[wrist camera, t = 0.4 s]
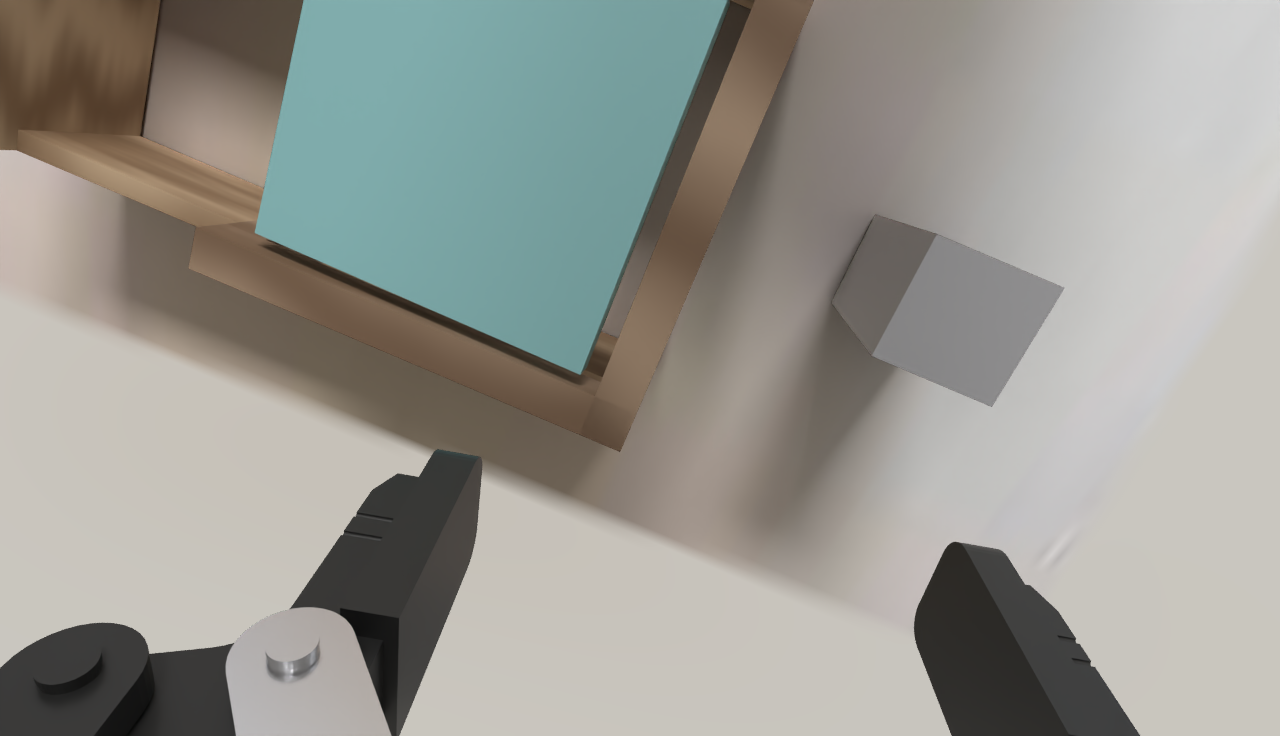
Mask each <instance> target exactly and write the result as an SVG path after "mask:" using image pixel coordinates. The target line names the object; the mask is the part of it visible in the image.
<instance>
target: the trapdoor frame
mask: <svg viewBox="0 0 1280 736" xmlns="http://www.w3.org/2000/svg"><path fill="white" fill-rule="evenodd" d="M730 1H733V2H735V3H737V4H740V5H742V6H745V7H747V8H749V9H751V11H750V14H749V16H748V19H747V21H746V24H745V26H744V29H743V31H742V34H741V36H740V39H739V41H738V43H737V46H736V48H735V51H734V53H733V56H732V58H731V61H730V63H729V66H728V68H727V71H726V73H725V76H724V78H723V81H722V83H721V86H720V88H719V91H718V93H717V95H716V98H715V100H714V103H713V105H712V108H711V110H710V113H709V115H708V118H707V120H706V123H705V125H704V128H703V130H702V133H701V135H700V138H699V140H698V142H697V145H696V147H695V150H694V152H693V155H692V157H691V160H690V162H689V165H688V167H687V170H686V172H685V175H684V177H683V180H682V182H681V185H680V187H679V189H678V192H677V194H676V197H675V199H674V202H673V204H672V207H671V209H670V212H669V214H668V217H667V219H666V222H665V224H664V227H663V229H662V232H661V234H660V236H659V239H658V241H657V244H656V246H655V249H654V251H653V254H652V256H651V259H650V261H649V264H648V266H647V269H646V271H645V274H644V276H643V279H642V281H641V283H640V286H639V288H638V291H637V293H636V296H635V298H634V301H633V303H632V306H631V308H630V311H629V313H628V316H627V318H626V321H625V323H624V326H623V328H622V331H621V333H620V335H619V338H615V337H613V336H611V335H608V334H606V333H604V332H601V333H600V335H599V338H598V340H597V343H596V346H595V348H594V351H593V353H592V356H591V358H590V361H589V363H588V366H587V368H586V369H585V370H584V371H583V372H582V373H581V375H579V374H577V373H575V372H572V371H570V370H568V369H566V368H563V367H561V366H559V365H556V364H554V363H552V362H550V361H547V360H545V359H543V358H540V357H538V356H536V355H533V354H531V353H529V352H527V351H524V350H522V349H520V348H517V347H515V346H513V345H511V344H508V343H506V342H504V341H501V340H499V339H497V338H495V337H492V336H490V335H488V334H485V333H483V332H481V331H478V330H476V329H474V328H472V327H469V326H467V325H465V324H462V323H460V322H458V321H456V320H453V319H451V318H449V317H446V316H444V315H442V314H439V313H437V312H435V311H433V310H430V309H428V308H426V307H423V306H421V305H419V304H417V303H414V302H412V301H410V300H407V299H405V298H403V297H400V296H398V295H396V294H394V293H391V292H389V291H387V290H384V289H382V288H380V287H378V286H375V285H373V284H371V283H368V282H366V281H364V280H361V279H359V278H357V277H355V276H352V275H350V274H348V273H345V272H343V271H341V270H339V269H336V268H334V267H332V266H329V265H327V264H325V263H323V262H320V261H318V260H316V259H313V258H311V257H309V256H306V255H304V254H302V253H300V252H297V251H295V250H293V249H290V248H288V247H286V246H284V245H281V244H279V243H277V242H274V241H272V240H270V239H267V238H265V237H263V236H261V235H258V234H256V233H255V229H256V224H257V219H258V215H259V210H260V205H261V200H262V196H263V191H264V188H261V187H259V186H257V185H254V184H252V183H250V182H247V181H245V180H242V179H240V178H238V177H235V176H233V175H231V174H228V173H226V172H224V171H221V170H219V169H216V168H214V167H212V166H209V165H207V164H205V163H202V162H200V161H198V160H195V159H193V158H191V157H188V156H186V155H183V154H181V153H179V152H176V151H174V150H172V149H169V148H167V147H165V146H162V145H160V144H157V143H155V142H153V141H150V140H148V139H146V138H143V137H141V136H140V134H141V127H142V120H143V114H144V107H145V100H146V93H147V87H148V80H149V73H150V67H151V60H152V53H153V47H154V40H155V33H156V26H157V20H158V13H159V6H160V0H0V150H17V151H20V152H22V153H24V154H27V155H29V156H31V157H34V158H36V159H38V160H41V161H43V162H46V163H48V164H50V165H53V166H55V167H57V168H60V169H62V170H64V171H67V172H69V173H71V174H74V175H76V176H79V177H81V178H83V179H86V180H88V181H90V182H93V183H95V184H97V185H100V186H102V187H104V188H107V189H109V190H112V191H114V192H116V193H119V194H121V195H123V196H126V197H128V198H130V199H133V200H135V201H137V202H140V203H142V204H144V205H147V206H149V207H152V208H154V209H156V210H159V211H161V212H163V213H166V214H168V215H170V216H173V217H175V218H177V219H180V220H182V221H185V222H187V223H189V224H192V225H194V226H196V229H195V235H194V240H193V246H192V251H191V256H190V262H189V267H188V268H189V269H191V270H193V271H196V272H198V273H200V274H203V275H205V276H207V277H210V278H212V279H214V280H217V281H219V282H222V283H224V284H226V285H229V286H231V287H233V288H236V289H238V290H240V291H243V292H245V293H247V294H250V295H252V296H254V297H257V298H259V299H262V300H264V301H266V302H269V303H271V304H273V305H276V306H278V307H280V308H283V309H285V310H287V311H290V312H292V313H294V314H297V315H299V316H302V317H304V318H306V319H309V320H311V321H313V322H316V323H318V324H320V325H323V326H325V327H327V328H330V329H332V330H334V331H337V332H339V333H342V334H344V335H346V336H349V337H351V338H353V339H356V340H358V341H360V342H363V343H365V344H367V345H370V346H372V347H374V348H377V349H379V350H382V351H384V352H386V353H389V354H391V355H393V356H396V357H398V358H400V359H403V360H405V361H407V362H410V363H412V364H414V365H417V366H419V367H422V368H424V369H426V370H429V371H431V372H433V373H436V374H438V375H440V376H443V377H445V378H447V379H450V380H452V381H454V382H457V383H459V384H462V385H464V386H466V387H469V388H471V389H473V390H476V391H478V392H480V393H483V394H485V395H487V396H490V397H492V398H494V399H497V400H499V401H502V402H504V403H506V404H509V405H511V406H513V407H516V408H518V409H520V410H523V411H525V412H527V413H530V414H532V415H534V416H537V417H539V418H542V419H544V420H546V421H549V422H551V423H553V424H556V425H558V426H560V427H563V428H565V429H567V430H570V431H572V432H574V433H577V434H579V435H582V436H584V437H586V438H589V439H591V440H593V441H596V442H598V443H600V444H603V445H605V446H607V447H610V448H612V449H614V450H617V451H619V452H620V451H621V449H622V446H623V444H624V442H625V439H626V437H627V435H628V432H629V430H630V428H631V425H632V423H633V421H634V418H635V416H636V414H637V411H638V409H639V407H640V404H641V402H642V400H643V397H644V395H645V393H646V390H647V388H648V386H649V383H650V381H651V379H652V376H653V374H654V372H655V369H656V367H657V365H658V362H659V360H660V358H661V355H662V353H663V351H664V348H665V346H666V344H667V341H668V339H669V337H670V335H671V332H672V330H673V328H674V325H675V323H676V321H677V318H678V316H679V314H680V311H681V309H682V307H683V304H684V302H685V300H686V297H687V295H688V293H689V290H690V288H691V286H692V283H693V281H694V279H695V276H696V274H697V272H698V269H699V267H700V265H701V262H702V260H703V258H704V255H705V253H706V251H707V248H708V246H709V244H710V241H711V239H712V237H713V234H714V232H715V230H716V227H717V225H718V223H719V220H720V218H721V216H722V213H723V211H724V209H725V206H726V204H727V202H728V199H729V197H730V195H731V192H732V190H733V188H734V185H735V183H736V181H737V178H738V176H739V174H740V172H741V169H742V167H743V165H744V162H745V160H746V158H747V155H748V153H749V151H750V148H751V146H752V144H753V141H754V139H755V137H756V134H757V132H758V130H759V127H760V125H761V123H762V120H763V118H764V116H765V113H766V111H767V109H768V106H769V104H770V102H771V99H772V97H773V95H774V92H775V90H776V88H777V85H778V83H779V81H780V78H781V76H782V74H783V71H784V69H785V67H786V64H787V62H788V60H789V57H790V55H791V53H792V50H793V48H794V46H795V43H796V41H797V39H798V36H799V34H800V32H801V29H802V27H803V25H804V22H805V20H806V18H807V16H808V13H809V11H810V9H811V6H812V4H813V2H814V0H730Z"/></svg>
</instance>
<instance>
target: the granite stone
mask: <svg viewBox="0 0 1280 736" xmlns="http://www.w3.org/2000/svg"><path fill="white" fill-rule="evenodd" d="M1063 290H1064V287H1061V286H1059V285H1057V284H1054V283H1052V282H1049V281H1047V280H1045V279H1042V278H1040V277H1038V276H1035V275H1033V274H1030V273H1028V272H1026V271H1023V270H1021V269H1019V268H1016V267H1014V266H1011V265H1009V264H1007V263H1004V262H1002V261H1000V260H997V259H995V258H992V257H990V256H988V255H985V254H983V253H981V252H978V251H976V250H973V249H971V248H969V247H966V246H964V245H962V244H959V243H957V242H954V241H952V240H950V239H947V238H945V237H943V236H940V235H938V234H935V233H932V232H929V231H925V230H922V229H919V228H916V227H913V226H910V225H907V224H903V223H900V222H897V221H894V220H891V219H888V218H884V217H881V216H878V215H875V216H874V218H873V220H872V222H871V224H870V226H869V228H868V230H867V232H866V234H865V236H864V238H863V240H862V242H861V244H860V246H859V248H858V250H857V252H856V254H855V256H854V258H853V260H852V262H851V264H850V266H849V268H848V270H847V272H846V274H845V276H844V278H843V280H842V282H841V284H840V286H839V288H838V290H837V292H836V294H835V296H834V298H833V300H832V302H831V303H832V304H833V306H834V307H835V308H836V310H837V311H838V312H839V314H840V315H841V316H842V318H843V319H844V320H845V322H846V323H847V324H848V326H849V327H850V328H851V330H852V331H853V332H854V334H855V335H856V336H857V337H858V339H859V340H860V341H861V343H862V344H863V345H864V347H865V348H866V349H867V351H868V352H869V353H870V355H871V356H873V357H875V358H877V359H880V360H882V361H884V362H887V363H889V364H891V365H894V366H896V367H899V368H901V369H903V370H906V371H908V372H910V373H913V374H915V375H917V376H920V377H922V378H925V379H927V380H929V381H932V382H934V383H936V384H939V385H941V386H944V387H946V388H948V389H951V390H953V391H955V392H958V393H960V394H962V395H965V396H967V397H970V398H972V399H974V400H977V401H979V402H981V403H984V404H986V405H988V406H991V407H992V406H993V404H994V403H995V401H996V399H997V398H998V396H999V394H1000V393H1001V391H1002V389H1003V388H1004V386H1005V385H1006V383H1007V381H1008V380H1009V378H1010V376H1011V375H1012V373H1013V372H1014V370H1015V368H1016V367H1017V365H1018V363H1019V362H1020V360H1021V358H1022V357H1023V355H1024V354H1025V352H1026V350H1027V349H1028V347H1029V345H1030V344H1031V342H1032V340H1033V339H1034V337H1035V336H1036V334H1037V332H1038V331H1039V329H1040V327H1041V326H1042V324H1043V323H1044V321H1045V319H1046V318H1047V316H1048V314H1049V313H1050V311H1051V309H1052V308H1053V306H1054V305H1055V303H1056V301H1057V300H1058V298H1059V296H1060V295H1061V293H1062V291H1063Z"/></svg>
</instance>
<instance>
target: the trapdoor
mask: <svg viewBox="0 0 1280 736" xmlns="http://www.w3.org/2000/svg"><path fill="white" fill-rule="evenodd" d="M729 6H730V2H729V0H304V1H303V6H302V11H301V15H300V20H299V25H298V30H297V34H296V39H295V44H294V49H293V53H292V58H291V63H290V68H289V72H288V77H287V82H286V87H285V91H284V96H283V101H282V105H281V110H280V115H279V120H278V124H277V129H276V134H275V139H274V143H273V148H272V153H271V158H270V162H269V167H268V172H267V177H266V181H265V186H264V191H263V196H262V200H261V205H260V210H259V215H258V219H257V224H256V229H255V233H256V234H258V235H261V236H263V237H265V238H267V239H270V240H272V241H274V242H277V243H279V244H281V245H284V246H286V247H288V248H290V249H293V250H295V251H297V252H300V253H302V254H304V255H306V256H309V257H311V258H313V259H316V260H318V261H320V262H323V263H325V264H327V265H329V266H332V267H334V268H336V269H339V270H341V271H343V272H345V273H348V274H350V275H352V276H355V277H357V278H359V279H361V280H364V281H366V282H368V283H371V284H373V285H375V286H378V287H380V288H382V289H384V290H387V291H389V292H391V293H394V294H396V295H398V296H400V297H403V298H405V299H407V300H410V301H412V302H414V303H417V304H419V305H421V306H423V307H426V308H428V309H430V310H433V311H435V312H437V313H439V314H442V315H444V316H446V317H449V318H451V319H453V320H456V321H458V322H460V323H462V324H465V325H467V326H469V327H472V328H474V329H476V330H478V331H481V332H483V333H485V334H488V335H490V336H492V337H495V338H497V339H499V340H501V341H504V342H506V343H508V344H511V345H513V346H515V347H517V348H520V349H522V350H524V351H527V352H529V353H531V354H533V355H536V356H538V357H540V358H543V359H545V360H547V361H550V362H552V363H554V364H556V365H559V366H561V367H563V368H566V369H568V370H570V371H572V372H575V373H577V374H579V375H581V373H582V372H583V371H584V370H585V369H586V368H587V366H588V363H589V361H590V358H591V356H592V353H593V351H594V348H595V346H596V343H597V340H598V338H599V335H600V333H601V330H602V328H603V325H604V323H605V320H606V318H607V315H608V313H609V310H610V307H611V305H612V302H613V300H614V297H615V295H616V292H617V290H618V287H619V285H620V282H621V280H622V277H623V274H624V272H625V269H626V267H627V264H628V262H629V259H630V257H631V254H632V252H633V249H634V247H635V244H636V241H637V239H638V236H639V234H640V231H641V229H642V226H643V224H644V221H645V219H646V216H647V214H648V211H649V209H650V206H651V203H652V201H653V198H654V196H655V193H656V191H657V188H658V186H659V183H660V181H661V178H662V176H663V173H664V170H665V168H666V165H667V163H668V160H669V158H670V155H671V153H672V150H673V148H674V145H675V143H676V140H677V137H678V135H679V132H680V130H681V127H682V125H683V122H684V120H685V117H686V115H687V112H688V110H689V107H690V104H691V102H692V99H693V97H694V94H695V92H696V89H697V87H698V84H699V82H700V79H701V77H702V74H703V71H704V69H705V66H706V64H707V61H708V59H709V56H710V54H711V51H712V49H713V46H714V44H715V41H716V39H717V36H718V33H719V31H720V28H721V26H722V23H723V21H724V18H725V16H726V13H727V11H728V8H729Z"/></svg>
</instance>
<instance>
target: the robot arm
mask: <svg viewBox="0 0 1280 736" xmlns="http://www.w3.org/2000/svg"><path fill="white" fill-rule="evenodd" d="M481 475H482V458H481V457H478V456H473V455H467V454H461V453H456V452H450V451H444V450H439V449H437V450H436V451H435V452H434V453H433V454H432V456H431V458H430V459H429V461H428V463H427V464H426V466H425V468H424V469H423V471H422V473H421V474H420V476H419V477H415V476H409V475H404V474H396V475H395V476H393V477H392V478H390V479H389V480H387V481H385V482H384V483H383V484H381V485H379V486H378V487H376V488H375V489H373V490H372V491H371V492H370V494H369V496H368V497H367V498H366V500H365V501H364V503H363V504H362V506H361V507H360V508H359V510H358V511H357V515H356V517H353V519H352V520H351V522H350V523H349V524H348V526H347V527H346V529H345V530H344V534H343V535H341V536H340V537H339V539H338V540H337V542H336V543H335V545H334V546H333V548H332V549H331V551H330V552H329V554H328V555H327V556H326V558H325V559H324V561H323V562H322V564H321V565H320V566H319V568H318V569H317V571H316V572H315V574H314V575H313V577H312V578H311V579H310V581H309V582H308V584H307V585H306V587H305V588H304V590H303V591H302V593H301V594H300V595H299V597H298V598H297V600H296V601H295V603H294V604H293V605H292V607H291V608H290V609H289V610H285V611H281V612H278V613H275V614H272V615H270V616H269V617H266V618H264V619H262V620H260V621H259V622H257V623H255V624H254V625H252V626H251V627H250V628H249V629H247V630H246V631H245V632H244V633H243V634H242V635H241V636H240V637H239V638H238V639H237V640H236V642H235V643H233V644H229V645H225V646H219V647H213V648H205V649H195V650H185V651H175V652H166V653H155V654H149V651H148V645H147V643H146V641H145V639H144V638H143V636H142V635H141V634H140V633H139V632H137V631H136V630H134V629H133V628H130V627H127V626H125V625H120V624H114V623H93V624H86V625H80V626H75V627H72V628H68V629H64V630H62V631H59V632H56V633H54V634H51V635H49V636H47V637H44V638H42V639H40V640H38V641H36V642H35V643H33V644H31V645H29V646H27V647H26V648H24V649H23V650H21V651H20V652H19V653H17V654H16V655H14V656H13V657H12V658H11V659H10V660H9V661H8V662H6V663H5V664H4V665H3V666H2V667H1V668H0V736H399V735H400V733H401V730H402V728H403V725H404V723H405V720H406V718H407V715H408V713H409V710H410V708H411V706H412V703H413V701H414V698H415V696H416V693H417V691H418V688H419V686H420V683H421V681H422V678H423V676H424V673H425V671H426V669H427V666H428V664H429V661H430V659H431V656H432V654H433V651H434V649H435V647H436V644H437V641H438V639H439V636H440V634H441V632H442V629H443V627H444V624H445V622H446V619H447V617H448V615H449V612H450V610H451V607H452V605H453V602H454V600H455V597H456V595H457V593H458V590H459V588H460V585H461V582H462V580H463V578H464V575H465V573H466V570H467V568H468V565H469V562H470V559H471V555H472V552H473V548H474V543H475V538H476V532H477V522H478V510H479V499H480V487H481ZM914 634H915V640H916V644H917V648H918V650H919V653H920V655H921V658H922V660H923V663H924V666H925V668H926V671H927V673H928V676H929V678H930V681H931V683H932V686H933V689H934V691H935V694H936V697H937V699H938V701H939V704H940V707H941V709H942V712H943V715H944V717H945V720H946V722H947V725H948V727H949V730H950V733H951V735H952V736H1140V735H1139V734H1138V732H1137V730H1136V729H1135V727H1134V726H1133V724H1132V723H1131V722H1130V720H1129V718H1128V717H1127V715H1126V714H1125V712H1124V711H1123V709H1122V708H1121V706H1120V705H1119V703H1118V701H1117V700H1116V699H1115V697H1114V695H1113V694H1112V693H1111V691H1110V689H1109V688H1108V686H1107V685H1106V683H1105V682H1104V680H1103V679H1102V677H1101V676H1100V674H1099V673H1098V671H1097V670H1096V668H1095V667H1091V665H1090V662H1091V661H1090V659H1089V658H1088V656H1087V655H1086V653H1085V652H1084V650H1083V648H1082V647H1081V645H1080V644H1077V643H1076V642H1075V640H1076V638H1075V636H1074V635H1073V633H1072V632H1071V630H1070V629H1069V627H1068V626H1067V624H1066V623H1065V621H1064V620H1063V618H1062V617H1061V615H1060V614H1059V612H1058V611H1057V610H1056V609H1055V608H1054V607H1053V606H1052V605H1051V604H1050V603H1049V602H1048V601H1046V600H1045V599H1044V598H1043V597H1042V596H1041V595H1040V594H1039V593H1038V592H1037V591H1036V590H1035V589H1034V588H1032V587H1031V586H1030V585H1025V584H1024V582H1023V581H1022V579H1021V578H1020V576H1019V574H1018V573H1017V571H1016V570H1015V568H1014V566H1013V565H1012V563H1011V562H1010V560H1009V559H1008V557H1007V556H1006V554H1005V553H1004V552H1003V551H1001V550H999V549H993V548H988V547H982V546H976V545H971V544H965V543H959V542H953V543H951V544H949V545H948V546H947V547H946V549H945V551H944V552H943V554H942V557H941V559H940V561H939V563H938V565H937V567H936V569H935V571H934V573H933V576H932V578H931V580H930V582H929V584H928V586H927V588H926V590H925V593H924V595H923V597H922V599H921V601H920V603H919V605H918V608H917V611H916V615H915V622H914Z"/></svg>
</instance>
